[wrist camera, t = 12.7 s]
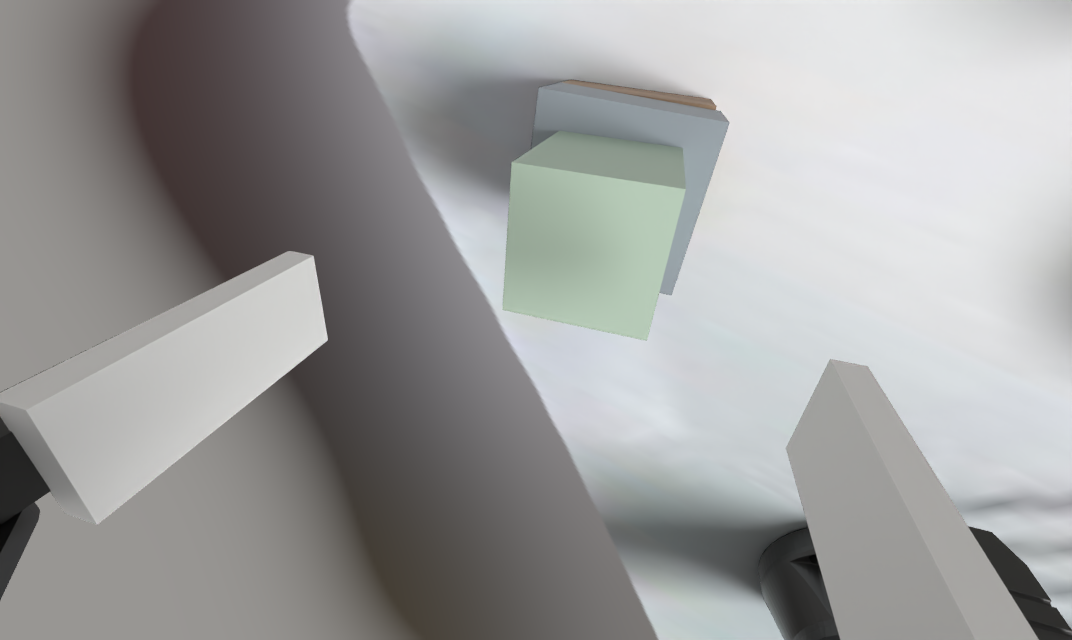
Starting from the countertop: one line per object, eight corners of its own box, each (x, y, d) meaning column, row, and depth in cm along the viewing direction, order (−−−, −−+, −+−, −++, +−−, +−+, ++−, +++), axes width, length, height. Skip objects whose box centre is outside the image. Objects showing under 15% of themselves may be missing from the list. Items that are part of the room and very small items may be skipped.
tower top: (671, 261, 30) (671, 295, 26) (538, 230, 31) (516, 258, 27) (720, 111, 25) (729, 122, 21) (560, 82, 26) (538, 87, 22)
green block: (654, 263, 25) (646, 340, 18) (547, 244, 26) (502, 309, 19) (683, 147, 22) (685, 189, 15) (559, 130, 23) (511, 162, 16)
